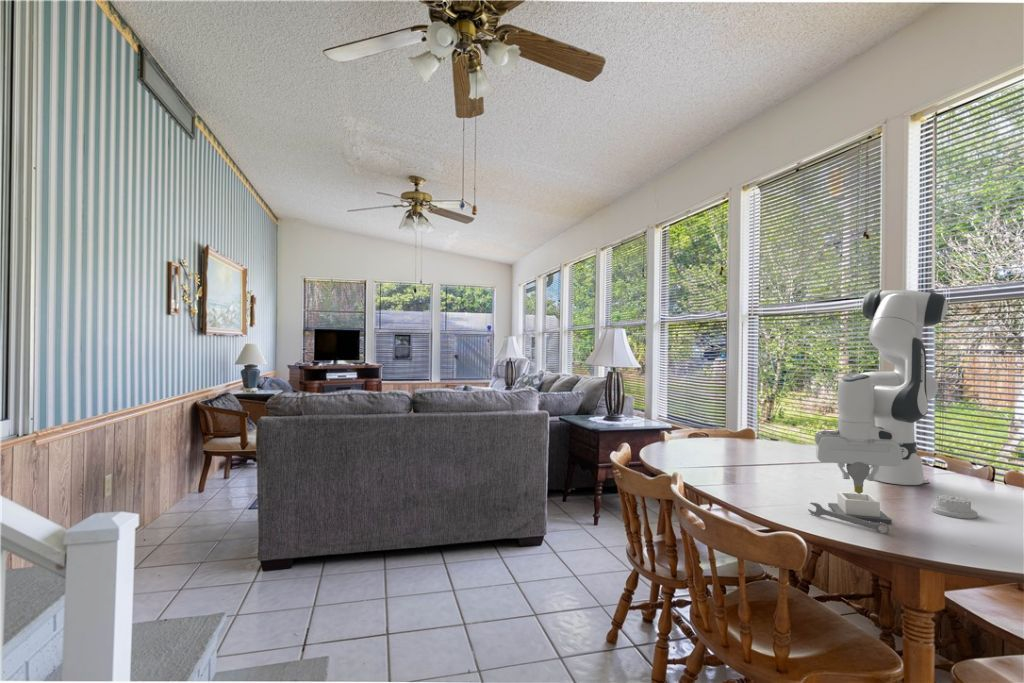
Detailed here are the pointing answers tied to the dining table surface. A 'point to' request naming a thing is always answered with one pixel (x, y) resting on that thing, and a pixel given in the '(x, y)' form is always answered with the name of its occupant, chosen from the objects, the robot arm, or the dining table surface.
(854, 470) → the light bulb
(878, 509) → the lamp base
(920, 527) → the dining table surface
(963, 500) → the mechanical component
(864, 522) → the combination wrench
